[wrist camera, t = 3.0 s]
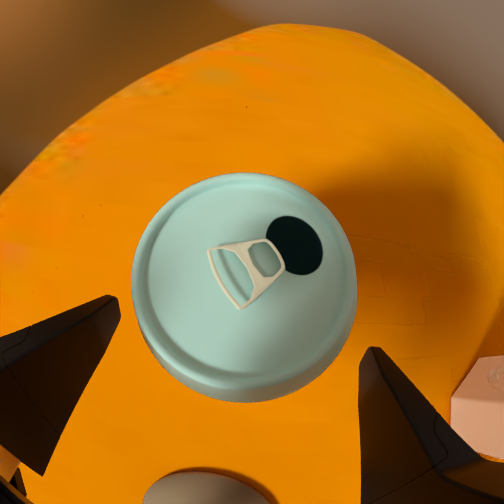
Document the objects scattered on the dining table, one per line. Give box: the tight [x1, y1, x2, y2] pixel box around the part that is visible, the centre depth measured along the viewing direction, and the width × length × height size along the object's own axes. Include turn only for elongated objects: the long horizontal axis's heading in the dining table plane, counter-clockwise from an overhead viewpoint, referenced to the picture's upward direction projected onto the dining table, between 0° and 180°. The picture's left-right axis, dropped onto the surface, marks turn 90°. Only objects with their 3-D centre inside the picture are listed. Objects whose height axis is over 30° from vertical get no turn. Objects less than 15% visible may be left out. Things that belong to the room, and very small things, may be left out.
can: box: [131, 173, 358, 403], centre depth 12 cm, size 7×7×12 cm
